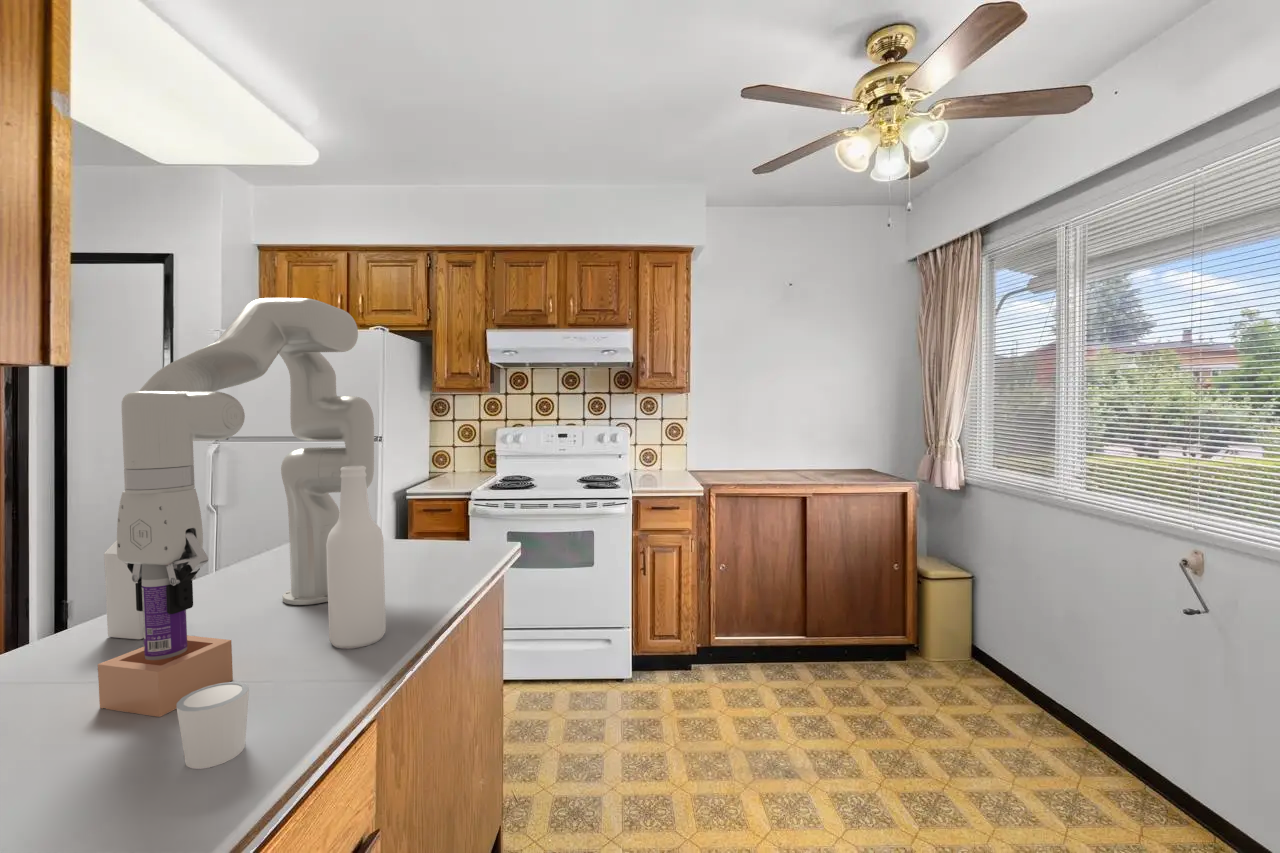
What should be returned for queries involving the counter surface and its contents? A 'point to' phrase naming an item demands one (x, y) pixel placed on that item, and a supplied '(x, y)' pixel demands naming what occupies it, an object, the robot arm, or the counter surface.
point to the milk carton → (121, 599)
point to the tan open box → (163, 676)
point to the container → (161, 616)
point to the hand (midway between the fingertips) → (165, 608)
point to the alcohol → (355, 568)
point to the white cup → (213, 723)
